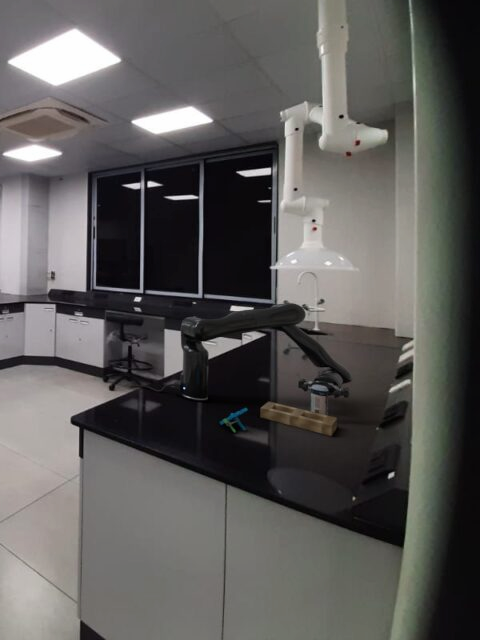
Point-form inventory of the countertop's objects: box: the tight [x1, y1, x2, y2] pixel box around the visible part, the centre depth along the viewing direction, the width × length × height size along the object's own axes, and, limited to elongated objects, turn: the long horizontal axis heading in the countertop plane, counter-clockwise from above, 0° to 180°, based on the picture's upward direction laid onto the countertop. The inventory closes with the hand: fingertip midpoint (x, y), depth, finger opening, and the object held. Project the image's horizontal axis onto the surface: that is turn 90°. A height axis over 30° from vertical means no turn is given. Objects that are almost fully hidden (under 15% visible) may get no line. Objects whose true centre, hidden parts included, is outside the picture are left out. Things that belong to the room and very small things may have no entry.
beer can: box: [310, 385, 329, 416], centre depth 147 cm, size 5×5×12 cm
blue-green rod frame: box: [219, 407, 249, 433], centre depth 135 cm, size 11×6×10 cm
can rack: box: [259, 401, 338, 437], centre depth 143 cm, size 20×11×4 cm, turn 41°
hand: (319, 391), depth 147 cm, fingers open, 8 cm apart
